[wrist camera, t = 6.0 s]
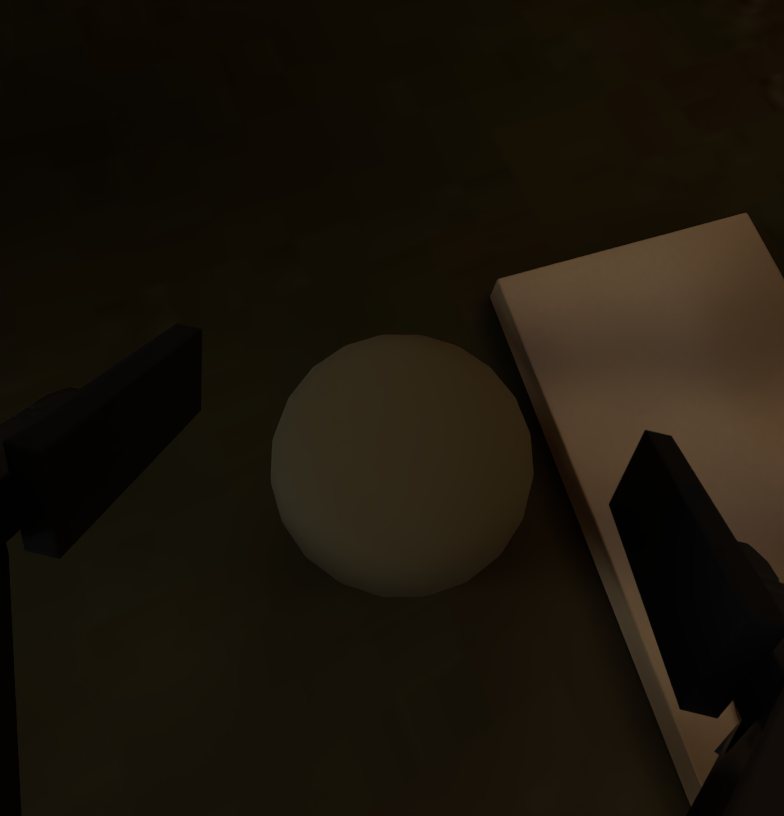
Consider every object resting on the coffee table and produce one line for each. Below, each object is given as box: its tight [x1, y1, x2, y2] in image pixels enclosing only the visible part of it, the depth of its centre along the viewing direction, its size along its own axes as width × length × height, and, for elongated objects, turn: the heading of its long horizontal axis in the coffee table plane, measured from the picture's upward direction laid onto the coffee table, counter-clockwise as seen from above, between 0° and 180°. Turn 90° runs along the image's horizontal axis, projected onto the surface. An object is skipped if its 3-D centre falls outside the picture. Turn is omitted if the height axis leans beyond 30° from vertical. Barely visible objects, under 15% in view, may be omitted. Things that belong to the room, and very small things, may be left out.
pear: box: [271, 335, 534, 597], centre depth 15 cm, size 6×6×11 cm
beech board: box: [490, 213, 784, 806], centre depth 19 cm, size 22×11×2 cm, turn 17°
